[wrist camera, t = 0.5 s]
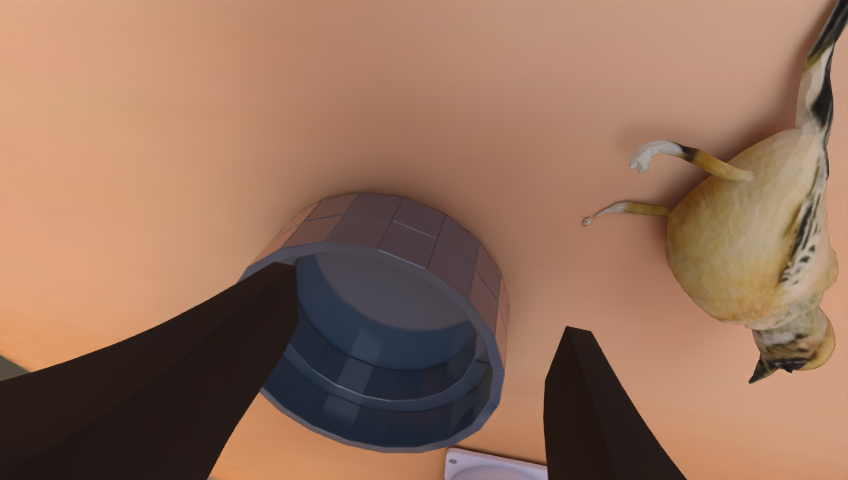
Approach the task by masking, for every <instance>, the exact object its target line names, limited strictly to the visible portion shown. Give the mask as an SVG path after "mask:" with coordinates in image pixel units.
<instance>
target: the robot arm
mask: <svg viewBox="0 0 848 480" xmlns="http://www.w3.org/2000/svg"><path fill="white" fill-rule="evenodd" d="M298 323H299V318H298V297H297V276H296V266H293V265H289V264H284V263H280V262H273V263H271V264H269V265H267V266H266V267H264V268H262V269H260V270H259V271H257V272H255V273H254V274H252V275H250V276H248V277H247V278H245V279H243V280H242V281H240V282H238V283H237V284H235V285H233V286H231V287H230V288H228V289H226V290H224V291H223V292H221V293H219V294H217V295H216V296H214V297H212V298H210V299H209V300H207V301H205V302H203V303H201V304H199V305H197V306H195V307H193V308H191V309H189V310H188V311H186V312H184V313H182V314H180V315H178V316H176V317H174V318H172V319H170V320H168V321H166V322H164V323H162V324H160V325H158V326H156V327H153V328H151V329H149V330H147V331H144V332H142V333H140V334H137V335H135V336H133V337H130V338H128V339H126V340H123V341H121V342H118V343H116V344H113V345H111V346H108V347H105V348H102V349H100V350H97V351H94V352H91V353H89V354H86V355H83V356H80V357H78V358H75V359H72V360H69V361H66V362H63V363H60V364H57V365H54V366H51V367H48V368H45V369H41V370H38V371H35V372H31V373H28V374H24V375H21V376H18V377H14V378H11V379H7V380H4V381H0V480H207V478H208V476H209V475H210V473H211V471H212V469H213V467H214V465H215V463H216V461H217V459H218V458H219V456H220V454H221V452H222V450H223V448H224V446H225V444H226V442H227V441H228V439H229V437H230V436H231V434H232V432H233V431H234V429H235V427H236V426H237V424H238V423H239V421H240V420H241V418H242V417H243V415H244V414H245V412H246V411H247V409H248V408H249V406H250V405H251V403H252V401H253V400H254V398H255V397H256V395H257V394H258V392H259V391H260V389H261V388H262V386H263V385H264V383H265V382H266V380H267V379H268V377H269V376H270V374H271V373H272V371H273V370H274V368H275V367H276V365H277V363H278V362H279V360H280V359H281V357H282V356H283V354H284V352H285V350H286V348H287V346H288V344H289V342H290V340H291V338H292V336H293V334H294V331H295V329H296V327H297V325H298ZM543 421H544V435H545V449H546V462H547V466H543V465H538V464H533V463H528V462H523V461H518V460H513V459H508V458H503V457H498V456H493V455H488V454H483V453H478V452H473V451H468V450H463V449H458V448H449V449H447V452H446V461H445V472H444V480H687V479H686V478H685V477H684V475H683V474H682V473H681V471H680V470H679V469H678V468H677V466H676V465H675V464H674V463H673V461H672V460H671V459H670V457H669V456H668V455H667V453H666V452H665V451H664V449H663V448H662V447H661V445H660V444H659V442H658V441H657V439H656V438H655V436H654V435H653V434H652V432H651V431H650V429H649V428H648V426H647V425H646V423H645V422H644V420H643V419H642V417H641V416H640V414H639V413H638V411H637V409H636V408H635V406H634V405H633V403H632V401H631V400H630V398H629V396H628V395H627V393H626V392H625V390H624V388H623V387H622V385H621V383H620V382H619V380H618V378H617V376H616V375H615V373H614V371H613V369H612V368H611V366H610V364H609V362H608V361H607V359H606V357H605V355H604V353H603V352H602V350H601V348H600V346H599V344H598V342H597V341H596V339H595V337H594V335H593V334H592V332H591V331H587V330H583V329H578V328H574V327H569V326H566V328H565V331H564V333H563V336H562V338H561V341H560V343H559V346H558V349H557V351H556V354H555V356H554V359H553V361H552V364H551V366H550V369H549V372H548V374H547V377H546V379H545V391H544V414H543Z"/></svg>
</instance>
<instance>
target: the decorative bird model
mask: <svg viewBox="0 0 848 480" xmlns="http://www.w3.org/2000/svg"><path fill="white" fill-rule="evenodd" d="M847 24H848V0H838V2H837V3H836V5H835V7H834V9H833V11H832V13H831V14H830V16H829V18H828V20H827V22H826V24H825V26H824V28H823V30H822V32H821V34H820V36H819V37H818V39H817V41H816V43H815V44H814V45H813V47H812V48H811V50H810V51H809V53H808V57H807V63H806V66H805V68H804V71H803V75H802V79H801V83H800V87H799V93H798V101H797V115H796V123H795V128H792V129H788V130H785V131H782V132H779V133H776V134H774V135H772V136H770V137H768V138H767V139H765V140H763V141H761V142H759V143H757V144H755V145H753V146H751V147H749V148H748V149H746V150H744V151H742V152H741V153H740V154H738V155H737V156H736V157H734V158H733V159H732V160H730V161H728V162H727V163H725V162H723V161H721V160H719V159H717V158H715V157H713V156H711V155H710V154H708V153H705V152H703V151H701V150H699V149H696V148H691V147H686V146H682V145H680V144H677V143H675V142H671V141H665V140H658V141H653V142H648V143H645V144H644V145H643V146H642V147H640V148H639V149H638V150H637V151H636V152H635V154H634V155H633V156H632V158H631V159H630V164H629V169H632V168H638V172H639V174H640V173H642V172H644V171H646V170H647V169H648V167H649V164H650V161H651V158H652V157H654V156H655V155H656V154H657V153H659V152H660V153H664V154H668V155H673V156H678V157H680V158H682V159H684V160H686V161H688V162H690V163H692V164H694V165H696V166H698V167H700V168H701V169H703V170H705V171H707V172H709V173H711V175H710V176H709V177H708V178H707V179H705V180H704V181H703V182H702V183H701V184H699V185H698V186H697V187H696V188H694V189H693V190H692V191H691V192H690V193H689V194H687V195H686V196H685V198H684V199H683V200H682V201H681V202H680V203H679V204H678V205H677V206H676V208H675V209H674V210H671V209H667V208H664V207H661V206H657V205H648V204H640V203H634V202H623V203H616V204H614V205H612V206H611V207H609V208H607V209H605V210H603V211H601V212H599V213H597V215H596V218H597V217H598V216H599V215H602V214H606V213H609V212H627V213H632V214H640V215H661V216H666V217H668V224H667V231H666V253H667V259H668V264H669V266H670V268H671V270H672V272H673V274H674V276H675V278H676V279H677V281H678V282H679V284H680V285H681V286H682V288H683V289H684V291H685V292H686V293H687V294H688V295H689V296H690V297H691V299H692V300H693V301H694V302H695V303H696V304H697V305H698V306H699V307H700V308H702V309H703V310H704V311H705V312H707V313H708V314H709V315H710V316H712V317H713V318H715V319H717V320H719V321H721V322H723V323H728V324H741V325H745V327H747V328H750V329H752V332H753V337H754V340H755V343H756V345H757V347H758V349H759V351H760V353H761V354H760V359H759V361H758V363H757V365H756V369H755V371H754V374H753V376H752V377H751V379H750V380H749V384H751V383H754V382H756V381H758V380H761V379H763V378H765V377H768V376H769V375H771V374H773V373H774V372H775V371H776V370H777V369H778V368H780V369H785V370H786V371H787V372H789V373H792V370H797V371H804V370H812V369H816V368H818V367H821V366H822V365H824V364H825V363H826V362H827V361H828V360H829V358H830V357H831V355H832V353H833V351H834V348H835V345H836V341H835V334H834V330H833V327H832V325H831V322H830V320H829V319H828V317H827V316H826V314H825V313H824V312H823V311H822V310H821V308H820V307H819V306H818V305H819V303H820V302H821V300H822V296H823V292H824V291H826V290H827V289H828V288H829V287H830V286H831V285H832V284H833V283H835V282H836V279H837V276H838V261H837V256H836V252H835V251H834V249H833V248H832V247H831V244H830V240H829V235H828V228H827V205H826V198H825V195H826V185H827V179H828V176H829V162H828V154H827V148H826V146H827V142H828V139H829V135H830V131H831V125H832V120H833V96H832V88H831V81H830V70H831V61H832V56H833V51H834V46H835V43H836V41H837V40H838V38H839V36H840V35H841V33H842V32H843V30H844V29H845V27H846V26H847ZM596 218H595V219H596ZM590 223H591V221H590V218H588V219H585V220H584V226H586V225H588V224H590Z"/></svg>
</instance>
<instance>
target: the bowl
mask: <svg viewBox="0 0 848 480" xmlns="http://www.w3.org/2000/svg"><path fill="white" fill-rule="evenodd" d="M273 262H280V263H284V264H289V265H293V266H296V276H297V297H298V318H299V323H298V325H297V327H296V329H295V331H294V334H293V336H292V338H291V340H290V342H289V344H288V346H287V348H286V350H285V352H284V354H283V356H282V357H281V359H280V360H279V362H278V363H277V365H276V367H275V368H274V370H273V371H272V373H271V374H270V376H269V377H268V379H267V380H266V382H265V383H264V385H263V386H262V388H261V389H260V391H259V392H260V393H261V394H262V395H263V396H264V397H265V398H266V399H267V400H268V401H269V402H271V403H272V404H273V405H274V406H275V407H276V408H277V409H278V410H280V412H282V413H283V414H285V415H287V416H288V417H290V418H291V419H293V420H295V421H296V422H298V423H299V424H301V425H302V426H304V427H306V428H307V429H309V430H310V431H312V432H315V433H317V434H320V435H322V436H325V437H327V438H330V439H332V440H335V441H337V442H340V443H342V444H345V445H348V446H352V447H357V448H362V449H367V450H372V451H377V452H382V453H383V452H384V453H423V452H427V451H431V450H436V449H440V448H444V447H448V446H452V445H455V444H457V443H458V442H460V441H462V440H463V439H465V438H467V437H469V436H470V435H472V434H474V433H475V432H477V431H479V430H480V429H481V428H482V427H483V425H484V424H485V423H486V421H487V420H488V419H489V417H490V416H491V415H492V413H493V412H494V411H495V409H496V408H497V407H498V405H499V403H500V398H501V392H502V387H503V381H504V375H505V363H506V347H507V331H508V315H509V304H508V300H507V296H506V291H505V287H504V283H503V279H502V275H501V272H500V271H499V269H498V268H497V266H496V265H495V264H494V262H493V261H492V259H491V258H490V256H489V255H488V253H487V252H486V250H485V249H484V247H483V246H482V244H481V243H480V241H478V240H477V239H476V238H475V237H474V236H472V235H471V234H470V233H469V232H467V231H466V230H465V229H464V228H462V227H461V226H460V225H459V224H457V223H456V222H455V221H453V220H452V219H451V218H450V217H448V216H447V215H445V214H444V213H442V212H439V211H437V210H435V209H432V208H430V207H427V206H425V205H423V204H420V203H418V202H415V201H413V200H411V199H408V198H406V197H404V198H403V197H398V196H390V195H381V194H372V193H364V192H363V193H354V194H349V195H344V196H339V197H334V198H329V199H324V200H321V201H319V202H318V203H316V204H314V205H313V206H311V207H310V208H308V209H306V210H305V211H303V212H301V213H300V214H298V215H296V216H295V217H294V218H292V219H291V220H290V222H289V223H288V224H287V225H286V226H285V227H284V228H283V229H282V230H281V231H280V232H279V234H278V235H277V236H276V237H275V238H274V239H273V240H272V241H271V242H270V243H269V244H268V245H267V247H266V248H265V249H264V250H263V251H262V252H261V253H260V254H259V255H258V256H257V257H256V259H255V260H254V261H253V262H252V263H251V264H250V265H249V266H248V267H247V268H246V270H245V271H244V273H243V274H242V276H241V277H240V279H239V280H238V282H240V281H242V280H243V279H245V278H247V277H248V276H250V275H252V274H254V273H255V272H257V271H259V270H260V269H262V268H264V267H266V266H267V265H269V264H271V263H273ZM238 282H237V283H238ZM237 283H236V284H237Z"/></svg>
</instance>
